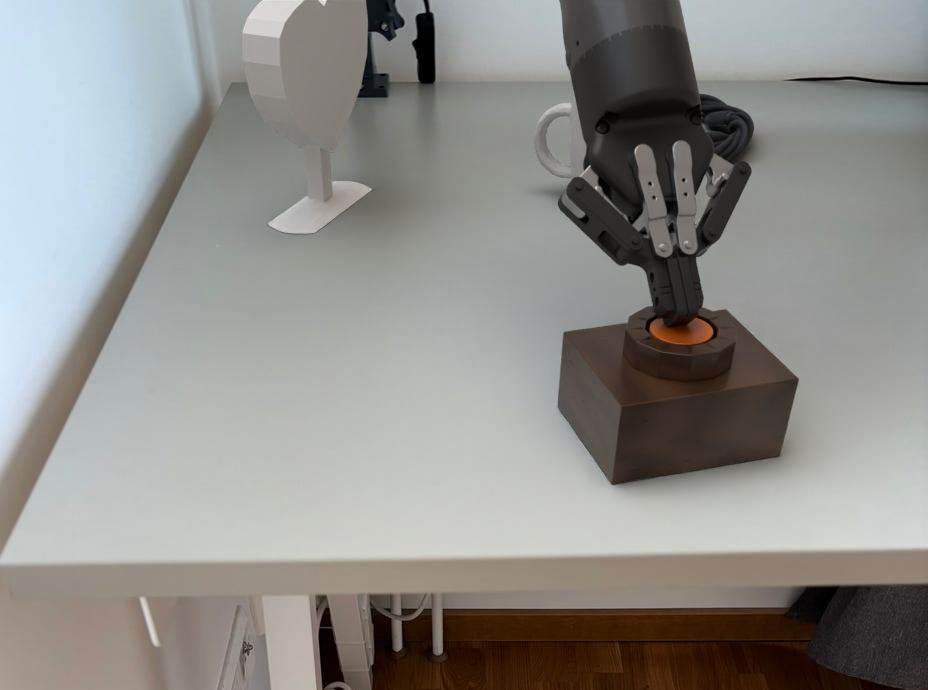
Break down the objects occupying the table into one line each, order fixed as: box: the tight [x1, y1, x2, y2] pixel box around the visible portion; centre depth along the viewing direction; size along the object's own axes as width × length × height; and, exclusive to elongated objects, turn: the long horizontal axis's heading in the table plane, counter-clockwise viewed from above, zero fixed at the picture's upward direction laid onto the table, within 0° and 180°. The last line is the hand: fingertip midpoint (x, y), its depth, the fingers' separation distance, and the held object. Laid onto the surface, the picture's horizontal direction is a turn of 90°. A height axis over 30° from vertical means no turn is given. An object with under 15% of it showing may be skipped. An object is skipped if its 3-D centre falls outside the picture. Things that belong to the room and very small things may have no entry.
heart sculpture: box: [241, 0, 373, 235], centre depth 97 cm, size 16×5×18 cm, turn 156°
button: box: [649, 318, 713, 346], centre depth 70 cm, size 4×4×2 cm
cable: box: [699, 93, 755, 161], centre depth 115 cm, size 17×14×4 cm
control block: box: [557, 305, 800, 485], centre depth 71 cm, size 12×10×8 cm
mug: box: [533, 90, 623, 216], centre depth 101 cm, size 13×9×10 cm
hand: (682, 321), depth 69 cm, fingers closed
